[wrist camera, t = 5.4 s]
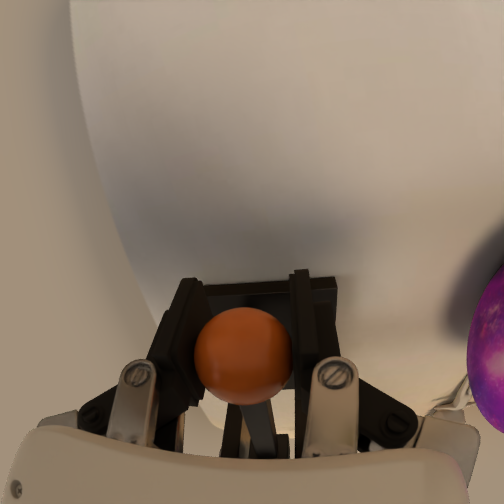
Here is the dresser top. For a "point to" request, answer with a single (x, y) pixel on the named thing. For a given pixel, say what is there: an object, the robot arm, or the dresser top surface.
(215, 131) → the dresser top surface
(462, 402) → the figurine
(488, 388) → the decorative orb
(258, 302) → the switch bracket
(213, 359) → the switch lever
